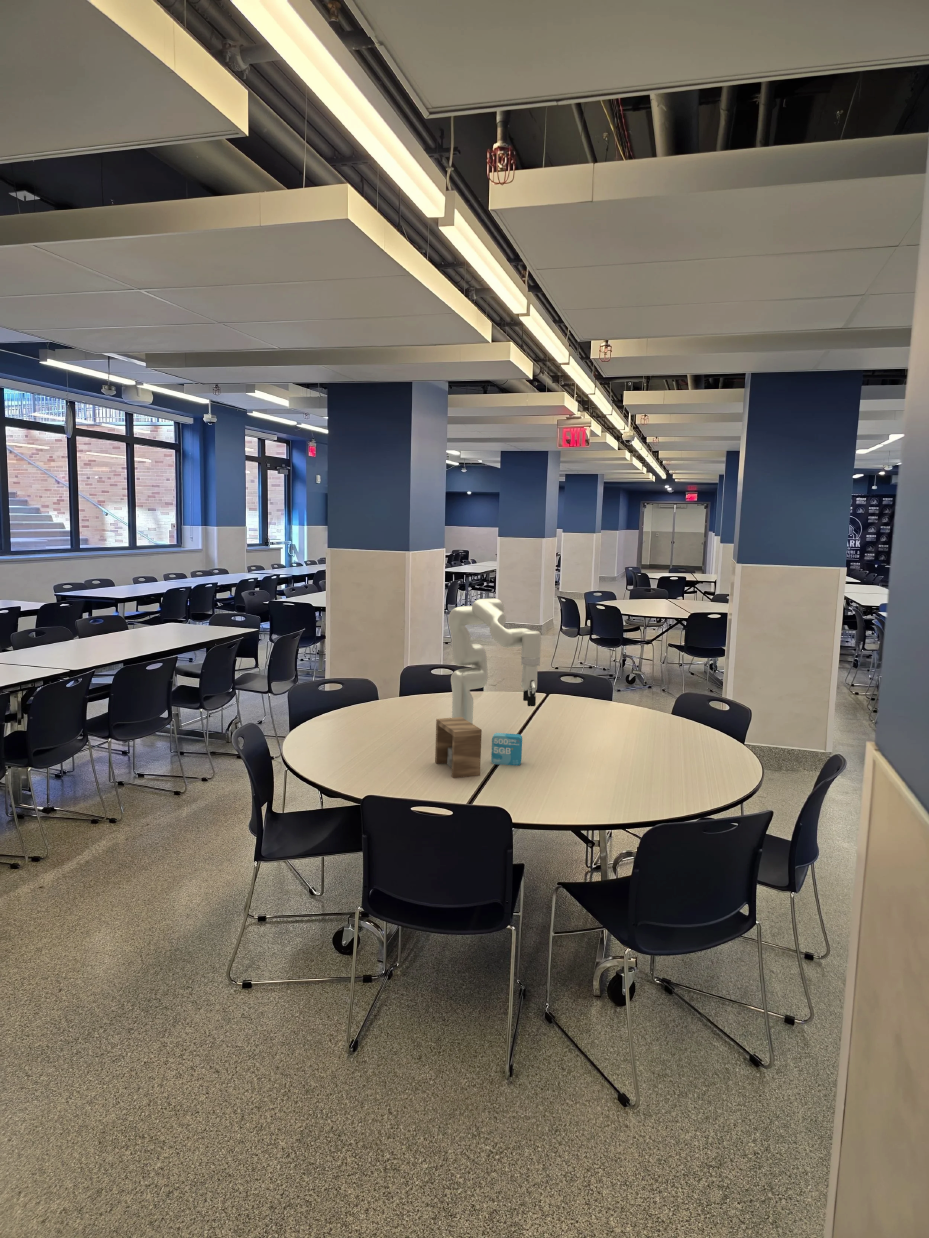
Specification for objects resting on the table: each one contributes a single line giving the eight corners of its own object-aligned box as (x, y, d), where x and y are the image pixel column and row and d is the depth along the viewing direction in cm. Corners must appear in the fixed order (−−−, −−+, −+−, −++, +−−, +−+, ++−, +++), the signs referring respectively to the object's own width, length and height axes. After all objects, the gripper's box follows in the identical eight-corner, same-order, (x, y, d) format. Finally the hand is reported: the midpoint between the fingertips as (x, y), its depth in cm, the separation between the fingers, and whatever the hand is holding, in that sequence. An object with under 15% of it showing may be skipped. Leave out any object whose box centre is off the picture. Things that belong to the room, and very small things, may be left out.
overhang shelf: (435, 762, 297) (436, 718, 295) (460, 760, 301) (461, 717, 299) (453, 778, 278) (454, 731, 276) (480, 775, 283) (481, 729, 281)
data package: (490, 764, 297) (492, 735, 296) (492, 760, 301) (493, 732, 300) (520, 766, 295) (521, 737, 294) (521, 763, 300) (522, 734, 299)
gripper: (517, 658, 303) (516, 698, 305) (525, 665, 286) (523, 708, 288) (535, 658, 304) (534, 698, 306) (544, 665, 287) (542, 708, 288)
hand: (529, 703), depth 297 cm, fingers open, 9 cm apart
